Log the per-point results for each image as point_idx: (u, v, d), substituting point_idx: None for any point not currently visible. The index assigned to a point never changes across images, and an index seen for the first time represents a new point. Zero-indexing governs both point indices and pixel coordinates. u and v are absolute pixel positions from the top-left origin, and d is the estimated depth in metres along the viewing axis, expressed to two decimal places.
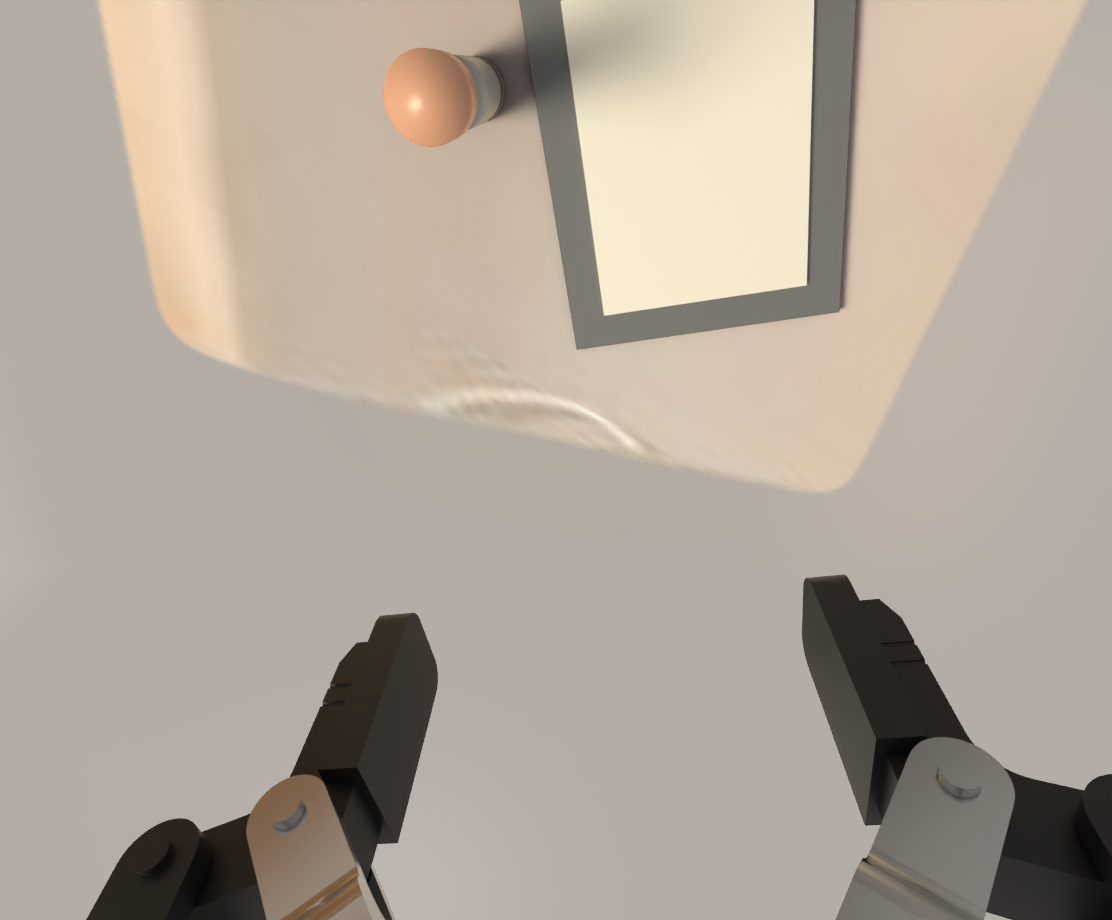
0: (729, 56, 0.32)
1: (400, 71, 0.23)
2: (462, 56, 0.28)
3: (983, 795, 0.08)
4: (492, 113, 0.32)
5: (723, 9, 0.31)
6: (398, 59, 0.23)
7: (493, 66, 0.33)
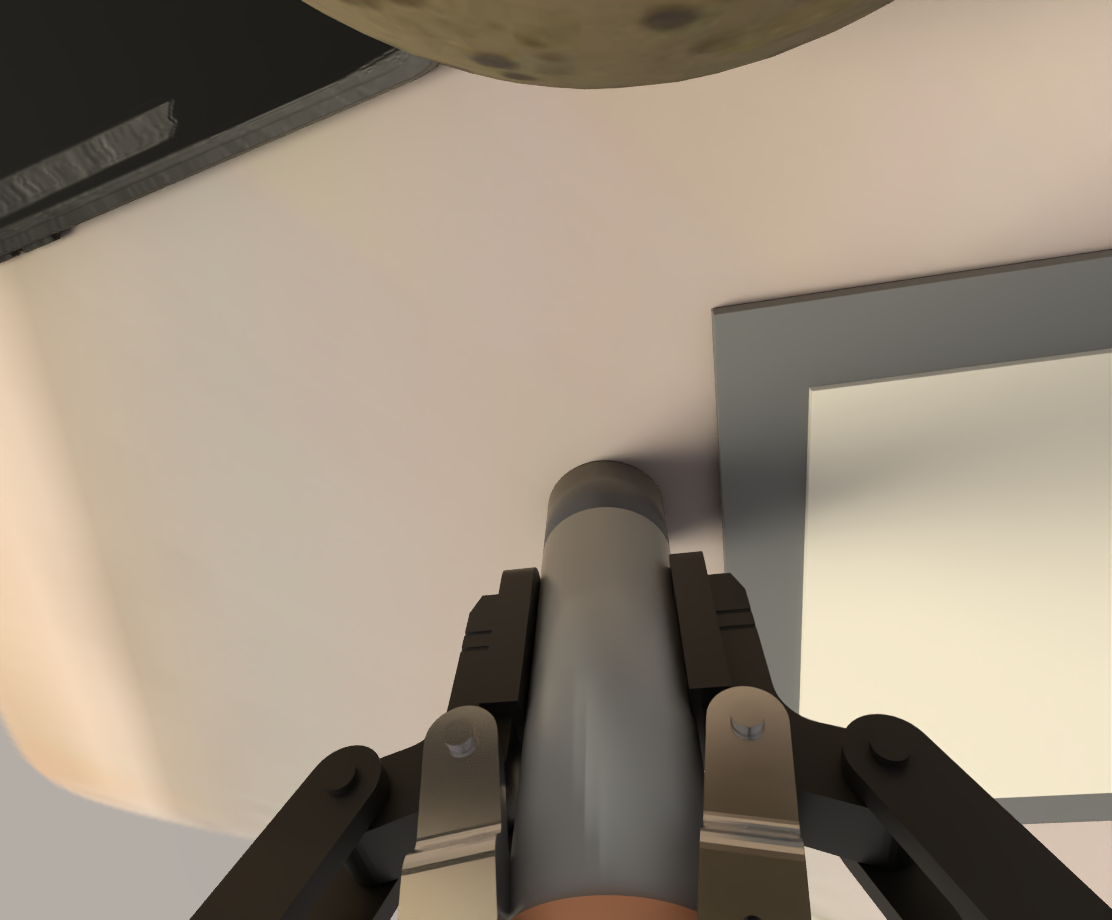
0: None
1: None
2: (640, 661, 0.11)
3: (762, 732, 0.09)
4: None
5: None
6: None
7: (650, 496, 0.16)
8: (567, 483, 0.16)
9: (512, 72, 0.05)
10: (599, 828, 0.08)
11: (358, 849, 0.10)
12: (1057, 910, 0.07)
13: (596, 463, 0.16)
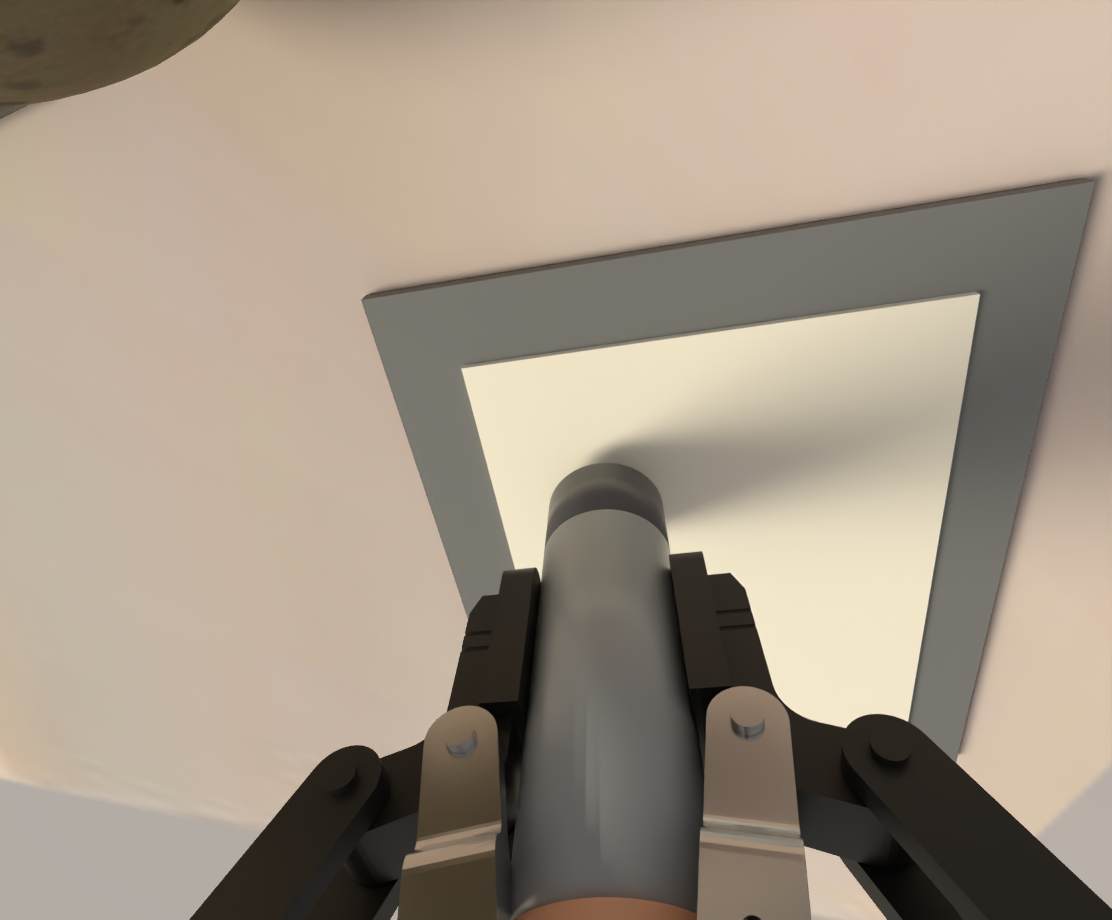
0: (791, 452, 0.17)
1: None
2: (640, 664, 0.11)
3: (762, 732, 0.09)
4: None
5: (782, 389, 0.16)
6: None
7: (650, 498, 0.16)
8: (568, 485, 0.16)
9: None
10: (599, 830, 0.08)
11: (358, 849, 0.10)
12: (1057, 910, 0.07)
13: (596, 465, 0.16)
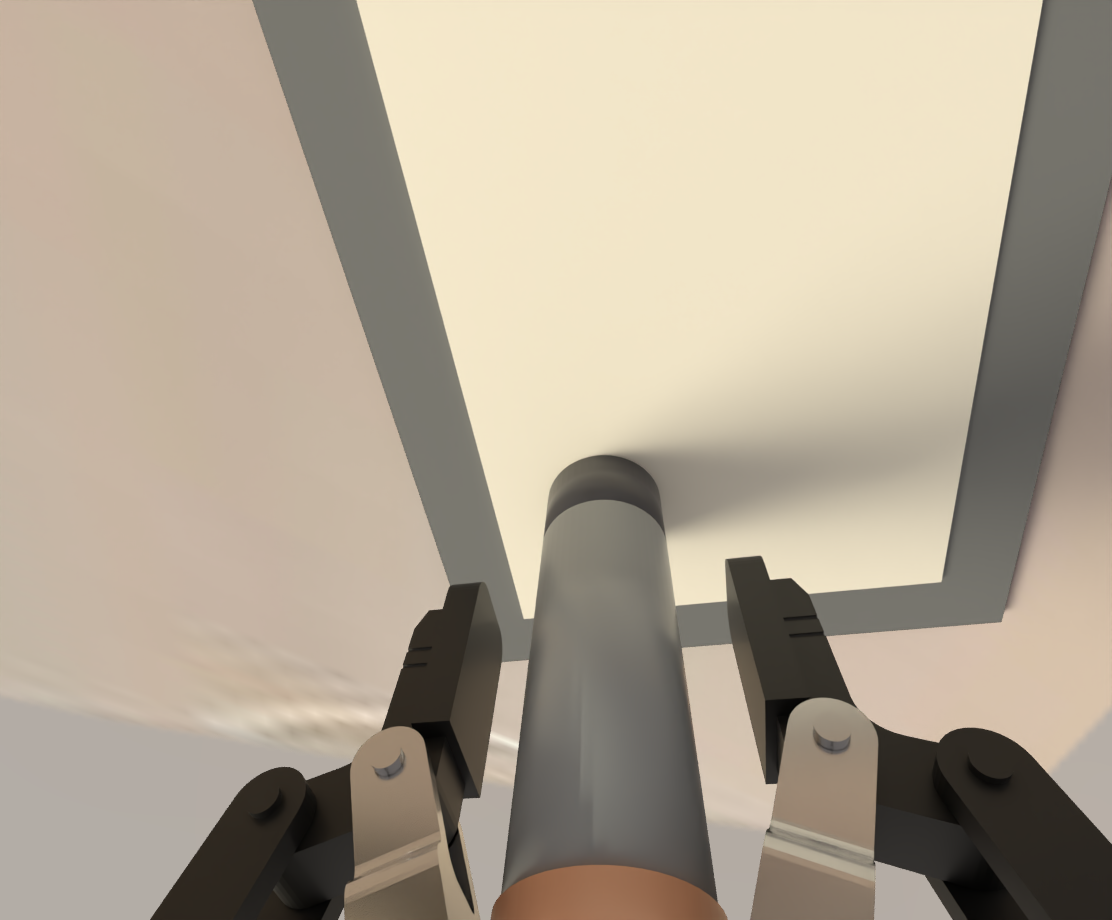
0: (802, 122, 0.13)
1: None
2: (635, 647, 0.11)
3: (849, 747, 0.09)
4: None
5: (791, 2, 0.11)
6: None
7: (647, 489, 0.16)
8: (567, 477, 0.16)
9: None
10: (593, 804, 0.09)
11: (290, 869, 0.10)
12: None
13: (595, 457, 0.16)
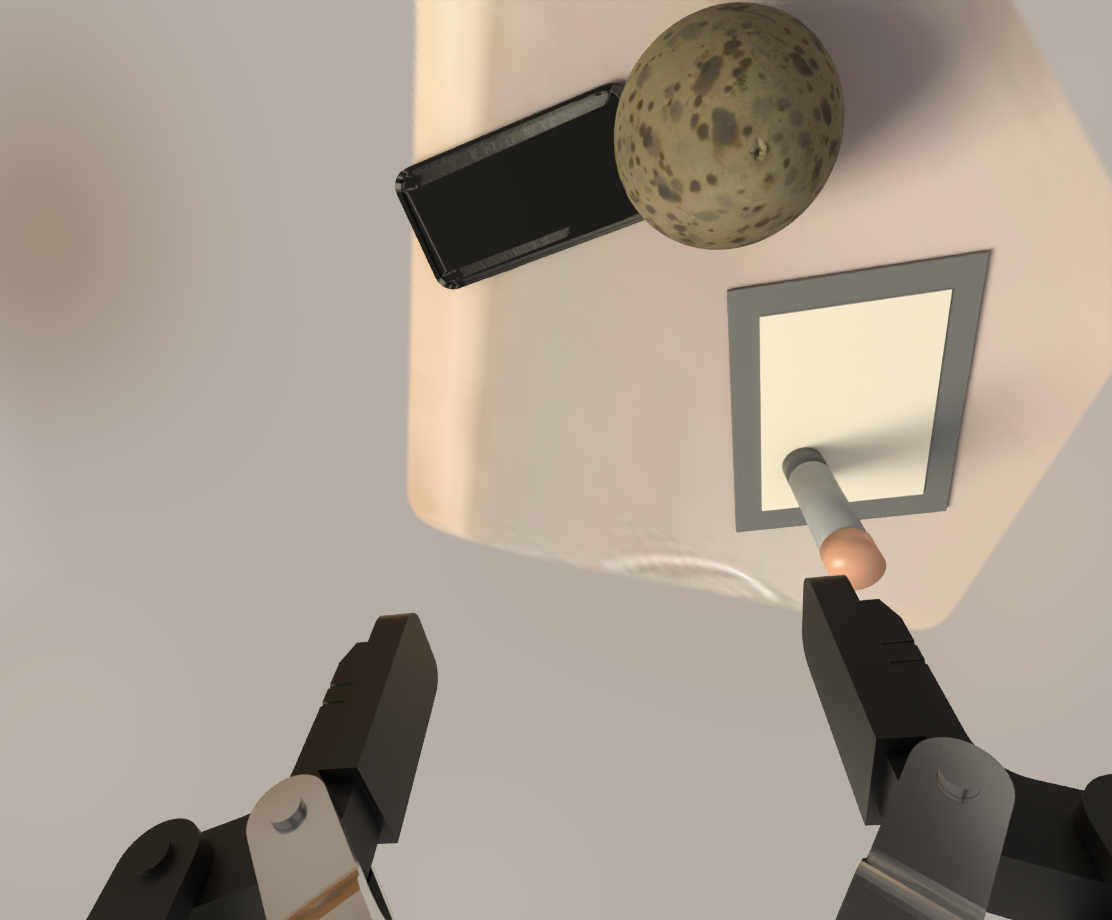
0: (880, 351, 0.44)
1: (846, 557, 0.38)
2: (839, 496, 0.42)
3: (983, 795, 0.08)
4: None
5: (880, 325, 0.43)
6: (847, 553, 0.38)
7: (823, 458, 0.47)
8: (794, 454, 0.48)
9: None
10: (843, 521, 0.40)
11: None
12: None
13: (803, 448, 0.48)
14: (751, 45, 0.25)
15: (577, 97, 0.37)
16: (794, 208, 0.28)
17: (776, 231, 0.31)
